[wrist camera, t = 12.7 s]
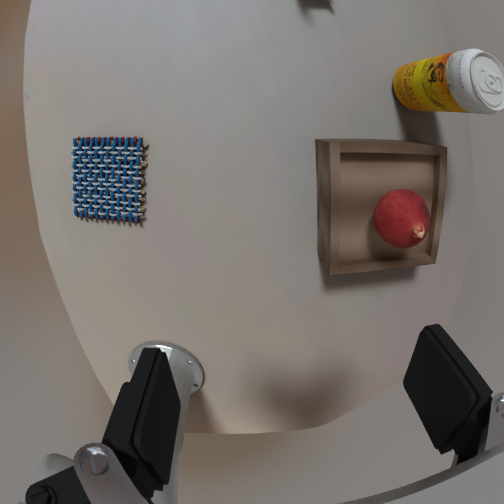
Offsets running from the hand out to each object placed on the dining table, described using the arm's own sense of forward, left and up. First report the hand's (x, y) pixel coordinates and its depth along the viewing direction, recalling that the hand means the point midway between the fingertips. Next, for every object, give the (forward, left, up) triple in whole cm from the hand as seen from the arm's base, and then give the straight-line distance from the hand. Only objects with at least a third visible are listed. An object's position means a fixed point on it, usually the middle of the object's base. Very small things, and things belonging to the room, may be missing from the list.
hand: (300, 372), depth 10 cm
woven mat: (+4, +18, -28) cm, 33 cm away
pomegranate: (-1, -13, -22) cm, 26 cm away
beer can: (+13, -19, -27) cm, 36 cm away
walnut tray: (-1, -13, -27) cm, 30 cm away
